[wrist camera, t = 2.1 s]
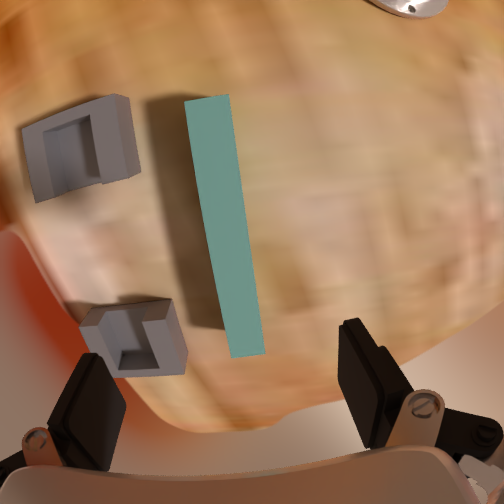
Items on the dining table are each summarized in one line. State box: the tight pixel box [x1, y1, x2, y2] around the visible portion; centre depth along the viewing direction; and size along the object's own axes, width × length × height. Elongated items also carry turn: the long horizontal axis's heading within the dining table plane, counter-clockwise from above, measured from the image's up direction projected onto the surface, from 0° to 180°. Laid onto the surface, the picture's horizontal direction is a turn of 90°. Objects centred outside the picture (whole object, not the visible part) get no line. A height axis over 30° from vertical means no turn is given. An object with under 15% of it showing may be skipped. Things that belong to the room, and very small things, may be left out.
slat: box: [184, 94, 265, 358], centre depth 25 cm, size 21×3×4 cm, turn 7°
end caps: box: [22, 94, 188, 378], centre depth 25 cm, size 25×9×4 cm, turn 8°
